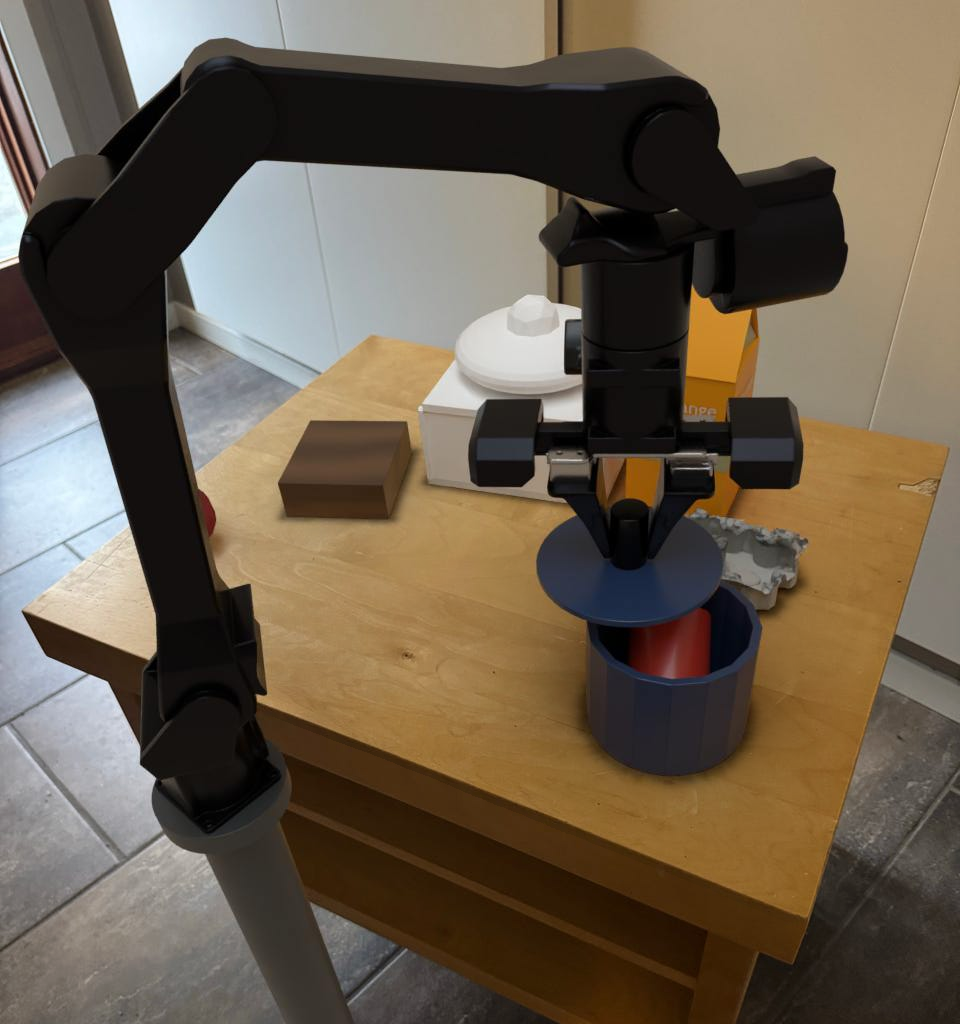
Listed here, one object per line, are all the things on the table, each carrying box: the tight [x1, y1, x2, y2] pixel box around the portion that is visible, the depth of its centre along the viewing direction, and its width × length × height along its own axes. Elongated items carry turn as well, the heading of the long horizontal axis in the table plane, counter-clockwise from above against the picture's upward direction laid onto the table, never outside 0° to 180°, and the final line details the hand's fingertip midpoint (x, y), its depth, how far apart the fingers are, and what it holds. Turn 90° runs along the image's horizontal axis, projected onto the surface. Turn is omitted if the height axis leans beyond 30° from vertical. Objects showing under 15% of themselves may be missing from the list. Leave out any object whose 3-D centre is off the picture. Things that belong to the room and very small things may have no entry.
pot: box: [585, 581, 763, 777], centre depth 67 cm, size 11×11×9 cm
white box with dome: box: [417, 293, 626, 504], centre depth 91 cm, size 18×18×16 cm
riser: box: [277, 419, 413, 520], centre depth 93 cm, size 11×10×4 cm
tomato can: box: [627, 608, 711, 679], centre depth 67 cm, size 6×6×7 cm
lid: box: [535, 497, 723, 627], centre depth 62 cm, size 12×12×5 cm
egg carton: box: [685, 508, 809, 611], centre depth 79 cm, size 11×8×4 cm
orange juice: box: [624, 285, 761, 517], centre depth 82 cm, size 8×9×20 cm
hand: (629, 554), depth 62 cm, fingers closed on lid, 2 cm apart
